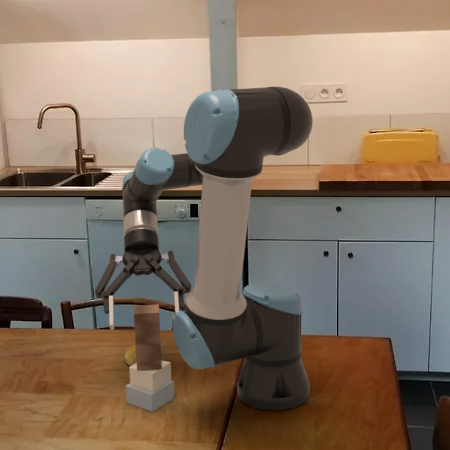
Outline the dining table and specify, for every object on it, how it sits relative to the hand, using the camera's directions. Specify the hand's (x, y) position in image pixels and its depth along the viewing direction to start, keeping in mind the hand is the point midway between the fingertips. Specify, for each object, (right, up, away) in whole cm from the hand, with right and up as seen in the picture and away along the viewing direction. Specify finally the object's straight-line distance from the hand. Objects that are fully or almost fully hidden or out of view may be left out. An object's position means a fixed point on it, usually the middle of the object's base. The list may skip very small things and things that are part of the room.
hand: (145, 325), depth 145 cm
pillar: (+1, -8, -1) cm, 8 cm away
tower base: (+1, -16, 0) cm, 16 cm away
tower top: (+1, -12, 0) cm, 12 cm away
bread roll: (-2, -11, +19) cm, 22 cm away
